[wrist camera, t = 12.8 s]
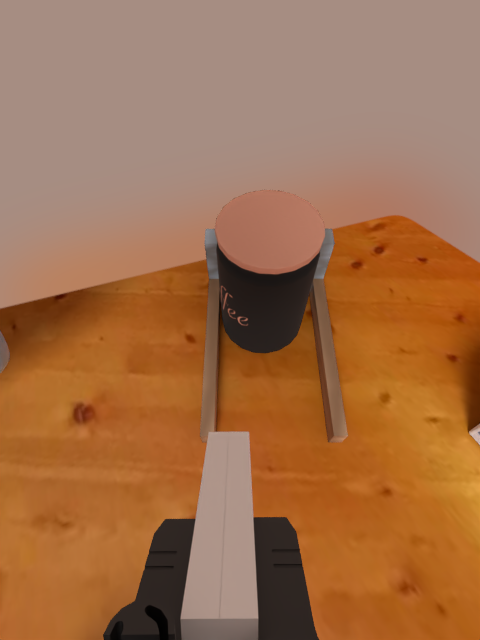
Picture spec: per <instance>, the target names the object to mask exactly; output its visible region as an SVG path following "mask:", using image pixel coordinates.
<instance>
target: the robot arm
mask: <svg viewBox="0 0 480 640" xmlns="http://www.w3.org/2000/svg"><path fill="white" fill-rule="evenodd" d="M9 359H10V352H9V348H8V345H7V343H6V341H5V339H4V336H3V335H2V333H1V331H0V373H1V372H2V371H3V370H4V369H5V367H6V366H7V364H8V362H9ZM103 637H104V640H319V639H318V637H317V633H316V630H315V627H314V622H313V617H312V612H311V607H310V601H309V596H308V591H307V586H306V581H305V575H304V570H303V567H302V560H301V554H300V549H299V544H298V539H297V534H296V531H295V529H294V528H293V527H292V525H291V524H290V522H289V521H288V519H287V518H286V517H253V502H252V482H251V462H250V443H249V432H209V434H208V441H207V448H206V454H205V461H204V467H203V474H202V480H201V487H200V494H199V500H198V507H197V513H196V519H165V520H164V522H163V523H162V524H161V526H160V527H159V528H158V529H157V531H156V532H155V533H154V536H153V540H152V543H151V547H150V550H149V555H148V557H147V561H146V564H145V570H144V571H143V575H142V579H141V582H140V586H139V589H138V593H137V596H136V600H135V601H134V602H132V603H131V604H129V605H127V606H125V607H124V608H122V609H121V610H120V611H119V612H118V613H117V614H116V615H115V616H114V617H113V618H112V620H111V621H110V623H109V625H108V627H107V629H106V631H105V633H104V634H103Z"/></svg>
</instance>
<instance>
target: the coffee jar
mask: <svg viewBox="0 0 480 640" xmlns="http://www.w3.org/2000/svg"><path fill="white" fill-rule="evenodd" d="M215 235H216V239H217V248H216V253H217V264H218V276H219V287H220V298H221V309H222V320H223V324H224V328H225V331H226V333H227V334H228V336H229V337H230V339H231V340H232V341H233V342H234V343H236V344H237V345H238V346H240V347H241V348H243V349H246V350H248V351H251V352H255V353H269V352H273V351H278V350H280V349H282V348H283V347H285V346H287V345H288V344H290V343H291V341H292V340H293V339H294V338H295V337H296V336H297V333H298V331H299V328H300V325H301V322H302V318H303V314H304V311H305V307H306V304H307V300H308V297H309V293H310V289H311V286H312V282H313V279H314V275H315V272H316V268H317V264H318V261H319V257H320V249H321V246H322V243H323V241H324V238H325V226H324V221H323V219H322V218H321V216H320V214H319V212H318V211H317V210H316V209H315V208H314V207H313V206H312V205H311V204H310V203H309V202H307V201H306V200H304V199H302V198H300V197H298V196H296V195H294V194H290V193H286V192H282V191H275V190H261V191H254V192H249V193H246V194H243V195H241V196H239V197H236V198H234V199H233V200H232V201H230V202H229V203H228V204H227V205H225V206H224V207H223V209H222V210H221V212H220V213H219V215H218V217H217V218H216V225H215Z"/></svg>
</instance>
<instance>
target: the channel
mask: <svg viewBox="0 0 480 640" xmlns="http://www.w3.org/2000/svg"><path fill="white" fill-rule="evenodd" d="M334 244H335V243H334V238H333V232H332V229H325V238H324V241H323V243H322V246H321V249H320V257H319V261H318V264H317V268H316V272H315V275H314V279H313V282H312V286H311V289H310V293H309V295H310V302H311V310H312V318H313V326H314V334H315V342H316V350H317V358H318V366H319V374H320V381H321V389H322V397H323V405H324V413H325V421H326V429H327V437H328V442H342V441H343V440H344V439H345V438H346V437H347V436H348V433H347V427H346V421H345V414H344V408H343V401H342V395H341V389H340V382H339V376H338V369H337V363H336V357H335V350H334V344H333V337H332V331H331V325H330V318H329V312H328V305H327V299H326V293H325V286H324V280H323V278H324V275H325V272H326V269H327V266H328V262H329V259H330V256H331V253H332V250H333V247H334ZM216 248H217V239H216V235H215V229H206V232H205V250H206V258H207V266H208V274H209V290H208V307H207V324H206V342H205V359H204V376H203V393H202V410H201V428H200V437H201V440H202V442H207V441H208V434H209V432H216V417H217V388H218V360H219V332H220V303H221V298H220V287H219V276H218V264H217V253H216Z"/></svg>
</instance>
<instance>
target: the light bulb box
mask: <svg viewBox="0 0 480 640" xmlns="http://www.w3.org/2000/svg"><path fill="white" fill-rule="evenodd" d="M469 434H470V435H471V436H472V437H473V438H474V439H475V440H476V441H477V442H478V444H479V445H480V424H478V425H477V426H476V427H474V428H473V429H472V430H470V431H469Z"/></svg>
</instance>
